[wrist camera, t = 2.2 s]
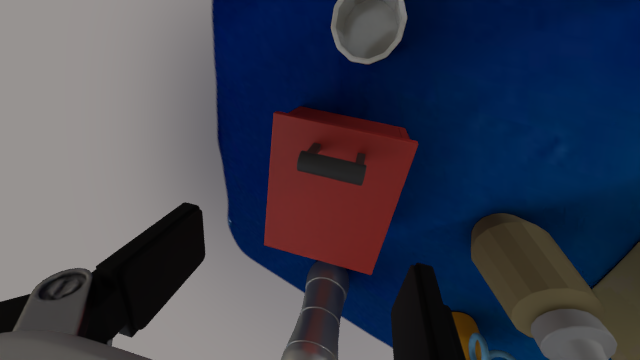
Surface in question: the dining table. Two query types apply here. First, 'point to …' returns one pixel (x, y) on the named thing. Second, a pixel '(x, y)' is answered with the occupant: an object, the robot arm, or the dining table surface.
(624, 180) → the dining table surface
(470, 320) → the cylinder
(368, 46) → the container
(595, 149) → the dining table surface
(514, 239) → the squeeze bottle
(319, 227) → the red box lid
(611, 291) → the cheese
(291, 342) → the silver metal bottle
